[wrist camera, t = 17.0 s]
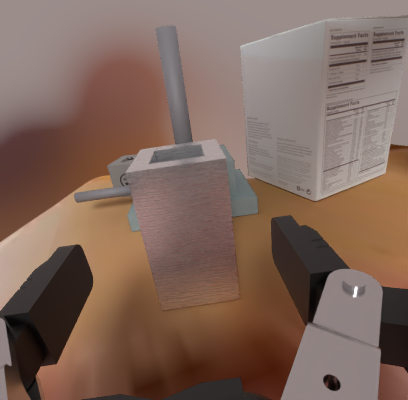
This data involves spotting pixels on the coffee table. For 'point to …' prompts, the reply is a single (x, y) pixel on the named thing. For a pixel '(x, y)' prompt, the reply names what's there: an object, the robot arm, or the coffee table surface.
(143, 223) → the steel sleeve
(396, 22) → the supplement box
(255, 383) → the coffee table surface
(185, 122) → the vise
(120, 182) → the dice cube
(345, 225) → the coffee table surface
